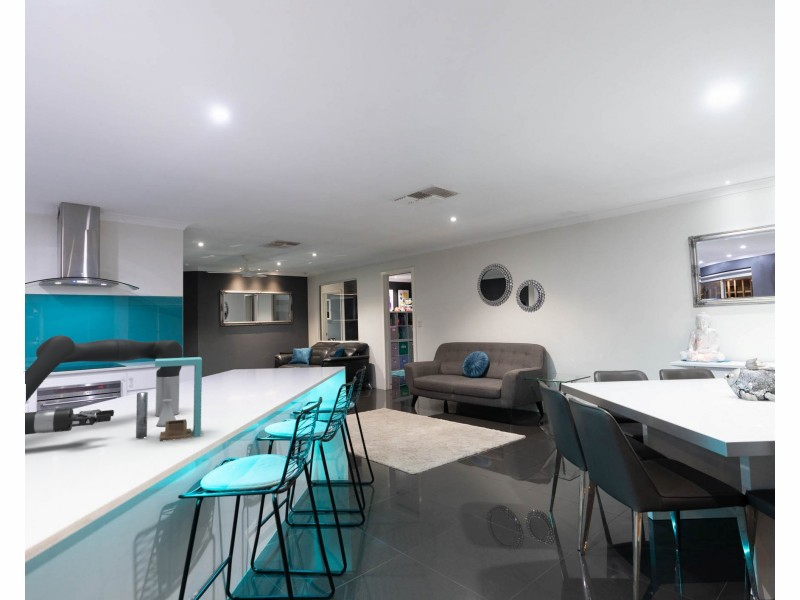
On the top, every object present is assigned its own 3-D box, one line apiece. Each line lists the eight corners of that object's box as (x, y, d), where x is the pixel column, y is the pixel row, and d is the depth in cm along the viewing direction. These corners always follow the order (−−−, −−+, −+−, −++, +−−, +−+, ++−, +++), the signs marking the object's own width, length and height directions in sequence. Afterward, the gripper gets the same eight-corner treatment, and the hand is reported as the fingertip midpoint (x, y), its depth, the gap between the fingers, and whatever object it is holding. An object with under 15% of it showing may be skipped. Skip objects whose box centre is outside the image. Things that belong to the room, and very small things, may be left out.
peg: (136, 436, 155) (137, 392, 155) (147, 435, 156) (148, 391, 157) (135, 439, 152) (136, 394, 152) (146, 437, 153) (147, 393, 154)
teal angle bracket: (154, 435, 157) (155, 358, 158) (199, 430, 164) (200, 357, 165) (153, 442, 148) (155, 361, 149) (200, 436, 155) (202, 359, 156)
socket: (160, 434, 158) (160, 420, 158) (190, 431, 163) (190, 417, 163) (159, 441, 149) (160, 426, 149) (191, 437, 154) (191, 423, 154)
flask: (170, 427, 169) (171, 401, 170) (152, 427, 169) (153, 401, 170) (180, 422, 176) (180, 398, 177) (163, 422, 176) (163, 398, 177)
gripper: (49, 413, 136) (110, 408, 144) (59, 405, 149) (114, 401, 157) (48, 437, 136) (109, 430, 144) (58, 427, 149) (114, 421, 156)
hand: (112, 415), depth 150 cm, fingers open, 8 cm apart
